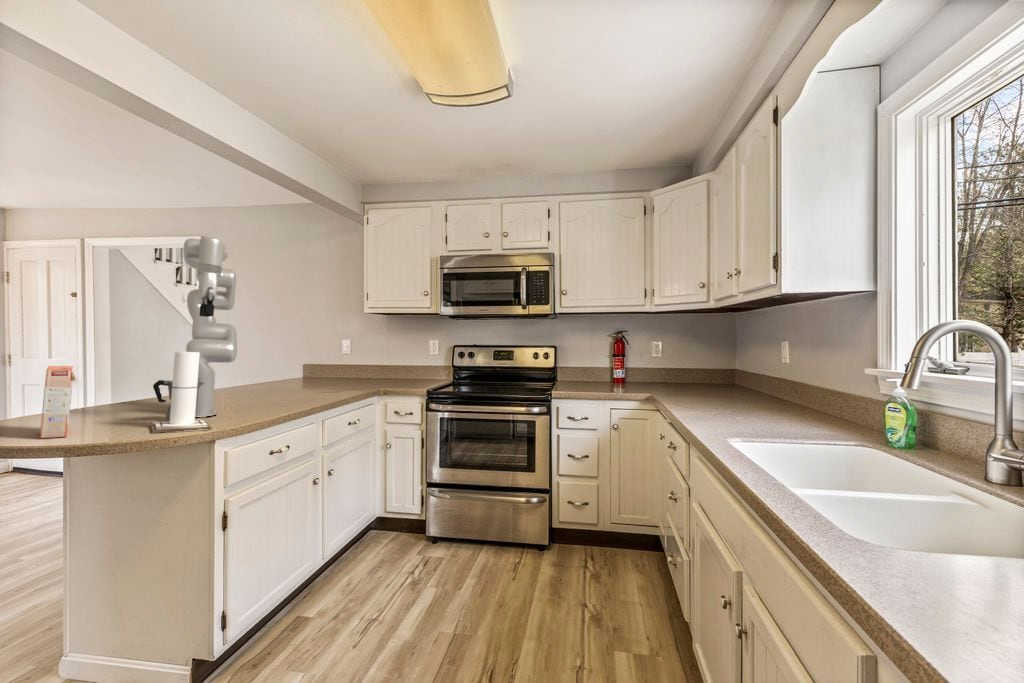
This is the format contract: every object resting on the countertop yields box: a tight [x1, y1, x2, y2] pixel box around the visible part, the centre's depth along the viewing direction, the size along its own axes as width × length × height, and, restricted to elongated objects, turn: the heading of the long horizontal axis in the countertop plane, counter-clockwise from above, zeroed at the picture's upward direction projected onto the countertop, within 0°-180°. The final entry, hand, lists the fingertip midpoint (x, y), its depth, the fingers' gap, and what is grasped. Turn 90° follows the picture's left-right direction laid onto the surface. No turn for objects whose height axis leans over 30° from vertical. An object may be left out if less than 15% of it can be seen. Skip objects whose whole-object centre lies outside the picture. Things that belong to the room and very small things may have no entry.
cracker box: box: [39, 365, 74, 439], centre depth 138 cm, size 14×6×21 cm, turn 44°
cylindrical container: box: [169, 351, 200, 425], centre depth 157 cm, size 7×7×25 cm
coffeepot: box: [152, 379, 204, 421], centre depth 169 cm, size 15×9×18 cm, turn 129°
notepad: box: [150, 419, 212, 434], centre depth 157 cm, size 14×16×2 cm
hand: (206, 316), depth 168 cm, fingers open, 9 cm apart
